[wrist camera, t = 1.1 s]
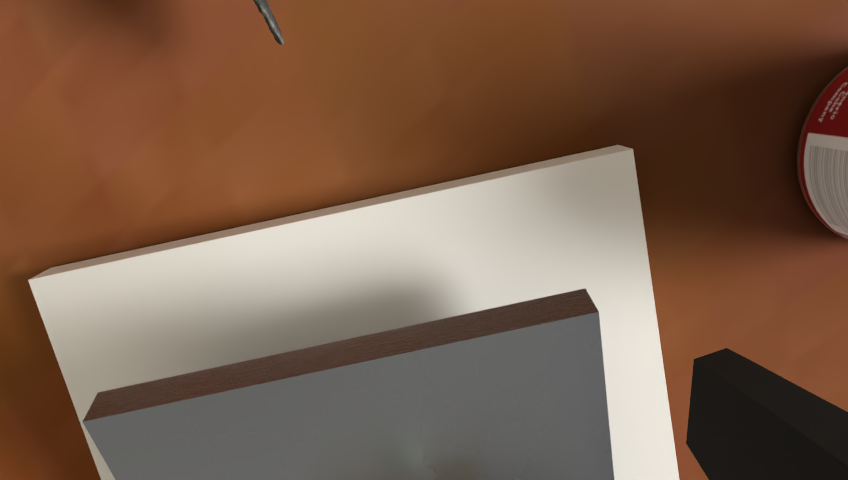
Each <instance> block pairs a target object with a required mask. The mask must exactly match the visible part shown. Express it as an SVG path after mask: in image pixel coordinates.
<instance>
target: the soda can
mask: <svg viewBox="0 0 848 480" xmlns="http://www.w3.org/2000/svg"><path fill="white" fill-rule="evenodd" d="M797 171H798V178H799V183H800V187H801V190H802V193H803V195H804V198H805V200H806V202H807V204H808V206H809V207H810V209H811V210H812V212H813V213H814V215H815V216H816V217H817V218H818V219H819V220H820V221H821V223H823V224H824V225H825V226H826V227H827V228H828V229H830V230H831V231H832V232H834V233H835V234H837V235H839V236H841V237H843V238H845V239H847V240H848V66H847V67H846V68H845V69H844V70H842V71H841V72H840V73H839V74H838V75H836V76H835V77H834V78H833V79H832V80H831V81H830V82H829V84H828V85H827V86H826V87H825V88H824V89H823V91H822V92H821V93H820V95H819V96H818V97H817V99H816V100H815V102H814V104H813V105H812V107H811V109H810V111H809V113H808V115H807V117H806V120H805V122H804V125H803V128H802V131H801V134H800V139H799V144H798V151H797Z"/></svg>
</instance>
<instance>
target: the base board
mask: <svg viewBox="0 0 848 480" xmlns="http://www.w3.org/2000/svg"><path fill="white" fill-rule="evenodd" d="M28 282H29V284H30V287H31V290H32V292H33V295H34V298H35V301H36V303H37V306H38V309H39V312H40V314H41V317H42V320H43V322H44V325H45V328H46V331H47V333H48V336H49V339H50V342H51V344H52V347H53V350H54V353H55V355H56V358H57V361H58V363H59V366H60V369H61V372H62V374H63V377H64V380H65V383H66V385H67V388H68V391H69V394H70V396H71V399H72V402H73V404H74V407H75V410H76V413H77V415H78V418H79V421H80V424H81V426H82V429H83V432H84V434H85V437H86V440H87V443H88V445H89V448H90V451H91V454H92V456H93V459H94V462H95V465H96V467H97V470H98V473H99V475H100V478H101V480H115V478H114V476H113V475H112V473H111V471H110V469H109V468H108V466H107V464H106V462H105V461H104V459H103V457H102V455H101V454H100V452H99V450H98V448H97V447H96V445H95V443H94V441H93V440H92V438H91V436H90V434H89V433H88V431H87V429H86V427H85V426H84V424H83V422H82V421H83V420H84V418H85V416H86V414H87V412H88V410H89V408H90V406H91V405H92V403H93V401H94V399H95V397H96V395H97V393H98V392H102V391H107V390H112V389H116V388H121V387H126V386H130V385H135V384H140V383H144V382H149V381H154V380H158V379H163V378H168V377H172V376H177V375H182V374H187V373H191V372H196V371H201V370H205V369H210V368H215V367H219V366H224V365H229V364H233V363H238V362H243V361H247V360H252V359H257V358H261V357H266V356H271V355H276V354H280V353H285V352H290V351H294V350H299V349H304V348H308V347H313V346H318V345H322V344H327V343H332V342H336V341H341V340H346V339H350V338H355V337H360V336H364V335H369V334H374V333H379V332H383V331H388V330H393V329H397V328H402V327H407V326H411V325H416V324H421V323H425V322H430V321H435V320H439V319H444V318H449V317H453V316H458V315H463V314H468V313H472V312H477V311H482V310H486V309H491V308H496V307H500V306H505V305H510V304H514V303H519V302H524V301H528V300H533V299H538V298H542V297H547V296H552V295H557V294H561V293H566V292H571V291H575V290H580V289H586V290H587V292H588V294H589V295H590V297H591V299H592V301H593V302H594V304H595V306H596V308H597V309H598V311H599V319H600V329H601V340H602V351H603V362H604V373H605V384H606V395H607V405H608V416H609V427H610V438H611V449H612V460H613V471H614V480H679V474H678V467H677V460H676V453H675V445H674V438H673V431H672V424H671V417H670V410H669V402H668V395H667V388H666V381H665V374H664V367H663V360H662V352H661V345H660V338H659V331H658V324H657V317H656V310H655V302H654V295H653V288H652V281H651V274H650V267H649V260H648V252H647V245H646V238H645V231H644V224H643V217H642V209H641V202H640V195H639V188H638V181H637V174H636V167H635V159H634V152H633V149H631V148H628V147H624V146H621V145H615V146H610V147H606V148H601V149H597V150H592V151H587V152H583V153H578V154H573V155H569V156H564V157H560V158H555V159H550V160H546V161H541V162H536V163H532V164H527V165H523V166H518V167H513V168H509V169H504V170H500V171H495V172H490V173H486V174H481V175H476V176H472V177H467V178H463V179H458V180H453V181H449V182H444V183H440V184H435V185H430V186H426V187H421V188H416V189H412V190H407V191H403V192H398V193H393V194H389V195H384V196H380V197H375V198H370V199H366V200H361V201H356V202H352V203H347V204H343V205H338V206H333V207H329V208H324V209H320V210H315V211H310V212H306V213H301V214H296V215H292V216H287V217H283V218H278V219H273V220H269V221H264V222H260V223H255V224H250V225H246V226H241V227H236V228H232V229H227V230H223V231H218V232H213V233H209V234H204V235H200V236H195V237H190V238H186V239H181V240H176V241H172V242H167V243H163V244H158V245H153V246H149V247H144V248H140V249H135V250H130V251H126V252H121V253H116V254H112V255H107V256H103V257H98V258H93V259H89V260H84V261H80V262H75V263H70V264H66V265H61V266H56V267H52V268H50V269H48V270H46V271H44V272H42V273H40V274H38V275H36V276H35V277H33V278H31V279H29V280H28Z"/></svg>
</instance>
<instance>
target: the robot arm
mask: <svg viewBox="0 0 848 480" xmlns="http://www.w3.org/2000/svg"><path fill="white" fill-rule="evenodd" d="M686 444H687V445H688V447H689V448H690V450H691V452H692V453H693V455H694V456H695V458H696V460H697V461H698V463H699V464H700V466H701V468H702V469H703V471H704V472H705V474H706V475H707V477H708V478H709V480H848V412H847V411H845V410H843V409H841V408H839V407H837V406H835V405H833V404H831V403H829V402H827V401H825V400H823V399H822V398H820V397H818V396H816V395H814V394H812V393H810V392H808V391H807V390H805V389H803V388H801V387H799V386H797V385H795V384H793V383H792V382H790V381H788V380H786V379H784V378H782V377H780V376H779V375H777V374H775V373H773V372H771V371H769V370H767V369H766V368H764V367H762V366H760V365H758V364H756V363H754V362H752V361H751V360H749V359H747V358H745V357H743V356H741V355H739V354H737V353H735V352H733V351H731V350H729V349H727V348H725V349H723V350H720V351H717V352H714V353H711V354H708V355H705V356H702V357H699V358H696V359H694V365H693V376H692V387H691V397H690V408H689V419H688V430H687V441H686Z"/></svg>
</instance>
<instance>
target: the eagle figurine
mask: <svg viewBox="0 0 848 480" xmlns="http://www.w3.org/2000/svg"><path fill="white" fill-rule="evenodd" d="M254 2H255V4H256V5H257V7H258V9H259V12H260V13H262V14H263V16H264V18H265V21H266V22H267V24H268V26H269V29H270V31H271V32H272V34H273V36H274V38H275V40H276V41H277V42H278V43H279V44H280V45H284V40H283V37H282V34H281V31H280V28H279V26H278V24H277V22H276V20H275V18H274V16H273V14H272V12H271V10H270V8H269V4H268V1H267V0H254Z"/></svg>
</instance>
